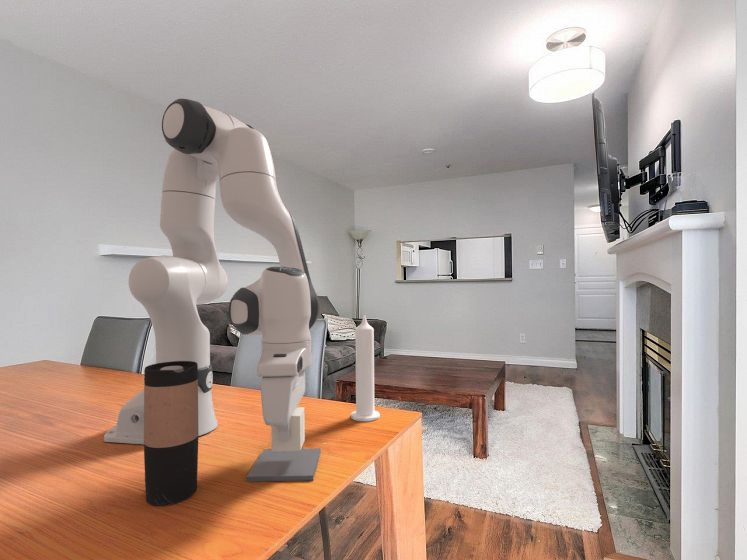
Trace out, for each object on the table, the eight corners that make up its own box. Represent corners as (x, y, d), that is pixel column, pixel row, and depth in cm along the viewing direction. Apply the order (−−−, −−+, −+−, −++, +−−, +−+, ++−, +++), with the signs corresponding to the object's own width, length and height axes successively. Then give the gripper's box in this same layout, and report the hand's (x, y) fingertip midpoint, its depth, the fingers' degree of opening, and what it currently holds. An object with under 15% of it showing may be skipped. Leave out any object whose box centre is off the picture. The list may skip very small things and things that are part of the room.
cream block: (271, 451, 69) (271, 416, 69) (277, 440, 74) (277, 407, 74) (300, 450, 69) (300, 415, 69) (304, 439, 74) (304, 407, 74)
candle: (376, 422, 93) (375, 316, 94) (347, 420, 95) (346, 315, 95) (382, 413, 100) (381, 313, 101) (354, 411, 102) (354, 313, 102)
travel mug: (157, 482, 66) (157, 361, 66) (205, 480, 66) (205, 360, 66) (133, 508, 58) (133, 371, 58) (188, 505, 59) (187, 369, 59)
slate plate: (246, 481, 66) (246, 476, 66) (263, 453, 77) (263, 449, 77) (313, 480, 66) (313, 475, 66) (320, 452, 77) (320, 448, 77)
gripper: (281, 347, 82) (282, 415, 82) (253, 368, 62) (255, 458, 61) (312, 347, 82) (313, 414, 82) (294, 367, 62) (296, 457, 61)
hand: (288, 433), depth 71 cm, fingers closed on cream block, 5 cm apart
